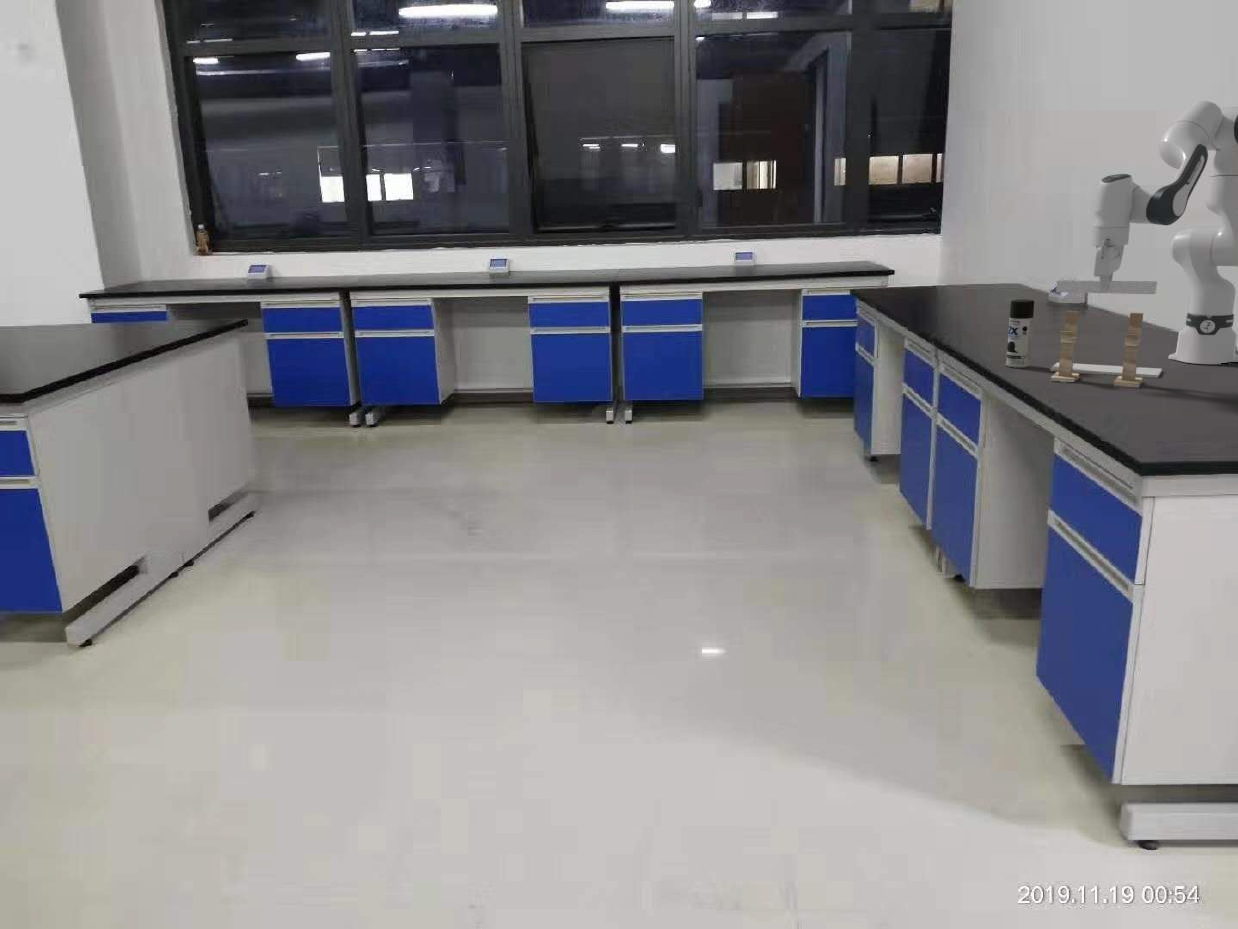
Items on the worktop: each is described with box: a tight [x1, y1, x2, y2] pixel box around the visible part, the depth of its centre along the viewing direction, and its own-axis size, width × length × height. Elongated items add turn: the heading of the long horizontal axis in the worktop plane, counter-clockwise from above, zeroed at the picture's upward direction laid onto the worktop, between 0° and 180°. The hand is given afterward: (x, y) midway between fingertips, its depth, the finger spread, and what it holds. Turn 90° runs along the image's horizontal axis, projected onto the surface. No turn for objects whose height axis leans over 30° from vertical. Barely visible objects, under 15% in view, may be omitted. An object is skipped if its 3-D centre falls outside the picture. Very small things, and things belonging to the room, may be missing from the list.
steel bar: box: [1055, 279, 1158, 295], centre depth 257 cm, size 3×24×3 cm, turn 56°
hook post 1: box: [1050, 310, 1080, 383], centre depth 266 cm, size 8×6×19 cm
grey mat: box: [1049, 361, 1163, 379], centre depth 277 cm, size 10×28×1 cm, turn 55°
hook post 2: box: [1113, 312, 1144, 388], centre depth 257 cm, size 8×6×19 cm
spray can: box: [1005, 298, 1035, 369], centre depth 286 cm, size 7×7×20 cm
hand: (1105, 290), depth 257 cm, fingers closed on steel bar, 3 cm apart
